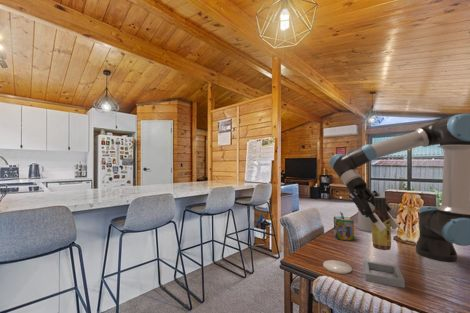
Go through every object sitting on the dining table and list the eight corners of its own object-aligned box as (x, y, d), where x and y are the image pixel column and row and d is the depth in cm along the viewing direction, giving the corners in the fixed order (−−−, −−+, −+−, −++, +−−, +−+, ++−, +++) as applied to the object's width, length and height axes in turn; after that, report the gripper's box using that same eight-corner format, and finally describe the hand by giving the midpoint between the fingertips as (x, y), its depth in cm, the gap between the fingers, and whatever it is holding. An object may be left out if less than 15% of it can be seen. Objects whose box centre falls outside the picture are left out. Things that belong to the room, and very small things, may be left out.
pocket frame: (397, 272, 93) (397, 265, 93) (404, 287, 81) (404, 280, 81) (363, 266, 98) (363, 260, 98) (365, 280, 86) (365, 273, 86)
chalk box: (354, 241, 129) (354, 214, 130) (337, 240, 131) (336, 213, 131) (349, 235, 138) (349, 211, 139) (333, 234, 140) (333, 210, 140)
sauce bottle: (391, 252, 85) (390, 198, 86) (372, 249, 89) (370, 197, 89) (390, 246, 91) (389, 196, 91) (372, 243, 94) (371, 195, 95)
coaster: (351, 265, 99) (351, 263, 99) (352, 276, 89) (352, 274, 89) (324, 260, 104) (324, 258, 104) (322, 270, 94) (322, 268, 94)
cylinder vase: (354, 228, 154) (353, 191, 154) (366, 226, 159) (366, 190, 160) (372, 233, 142) (371, 193, 143) (384, 231, 148) (384, 192, 148)
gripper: (364, 186, 108) (401, 231, 92) (332, 188, 102) (365, 236, 86) (374, 175, 103) (414, 221, 87) (341, 177, 97) (377, 226, 81)
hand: (390, 228), depth 87 cm, fingers closed on sauce bottle, 6 cm apart
